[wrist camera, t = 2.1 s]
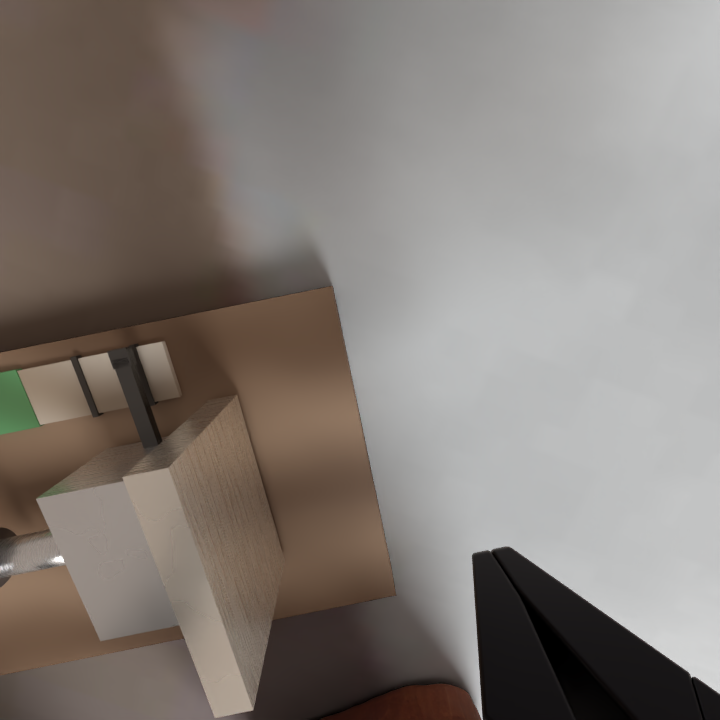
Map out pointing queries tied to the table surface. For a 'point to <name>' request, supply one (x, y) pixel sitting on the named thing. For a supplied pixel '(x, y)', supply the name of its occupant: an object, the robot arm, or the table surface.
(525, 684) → the robot arm
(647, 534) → the table surface
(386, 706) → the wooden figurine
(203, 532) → the gauge carriage
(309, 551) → the gauge base
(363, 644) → the table surface
